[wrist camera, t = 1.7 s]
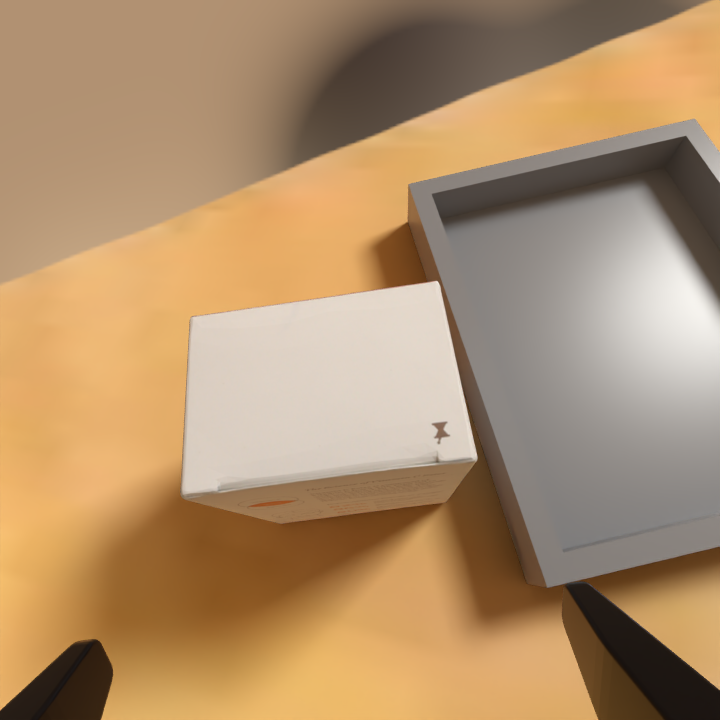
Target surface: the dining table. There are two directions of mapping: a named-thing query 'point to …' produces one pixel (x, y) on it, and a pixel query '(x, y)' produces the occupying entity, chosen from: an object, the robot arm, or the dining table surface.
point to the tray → (589, 342)
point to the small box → (325, 407)
